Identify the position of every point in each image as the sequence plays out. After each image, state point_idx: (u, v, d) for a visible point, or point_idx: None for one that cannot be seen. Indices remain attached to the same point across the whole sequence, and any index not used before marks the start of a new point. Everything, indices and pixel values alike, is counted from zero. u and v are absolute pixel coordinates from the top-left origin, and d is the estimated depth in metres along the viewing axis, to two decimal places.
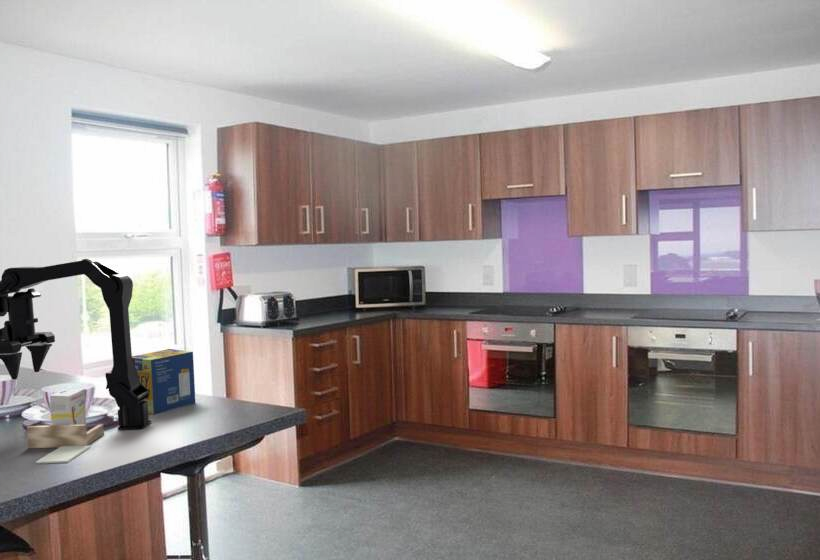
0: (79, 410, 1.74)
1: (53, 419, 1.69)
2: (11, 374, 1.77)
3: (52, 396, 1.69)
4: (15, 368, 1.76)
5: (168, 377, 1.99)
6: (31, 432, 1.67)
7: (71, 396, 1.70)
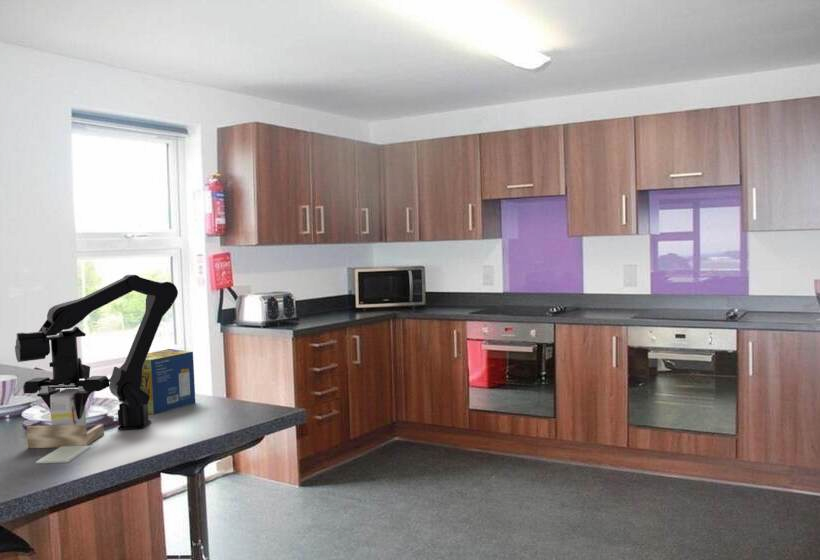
0: None
1: (53, 419, 1.69)
2: None
3: (52, 396, 1.69)
4: None
5: (168, 377, 1.99)
6: (31, 432, 1.67)
7: (71, 396, 1.70)
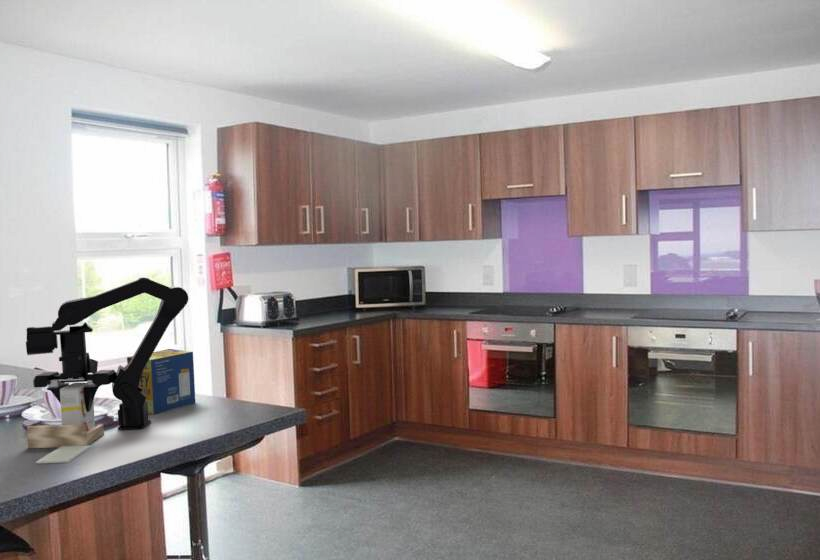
0: None
1: (63, 412, 1.73)
2: None
3: (62, 389, 1.73)
4: None
5: (168, 377, 1.99)
6: (31, 432, 1.67)
7: (80, 389, 1.75)
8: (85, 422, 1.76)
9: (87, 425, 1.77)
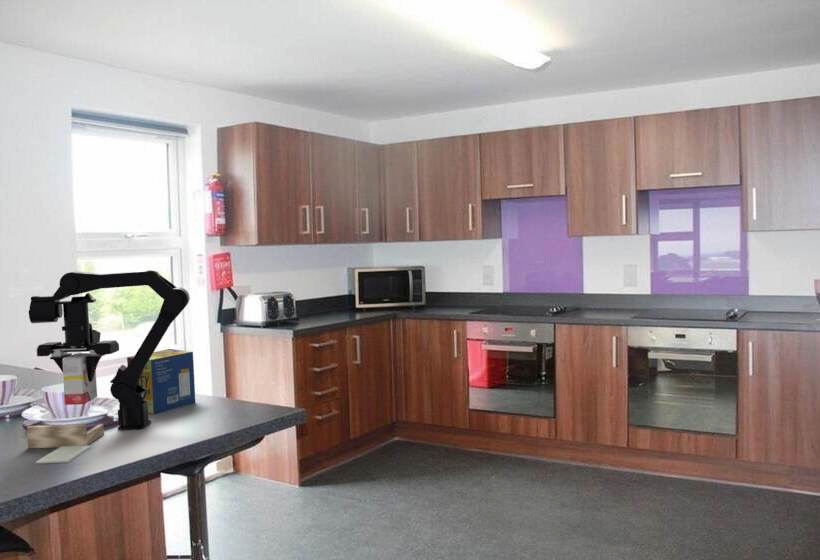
0: None
1: (65, 381, 1.75)
2: None
3: (64, 359, 1.75)
4: None
5: (168, 377, 1.99)
6: (31, 432, 1.67)
7: (83, 359, 1.76)
8: (87, 391, 1.78)
9: (89, 395, 1.79)
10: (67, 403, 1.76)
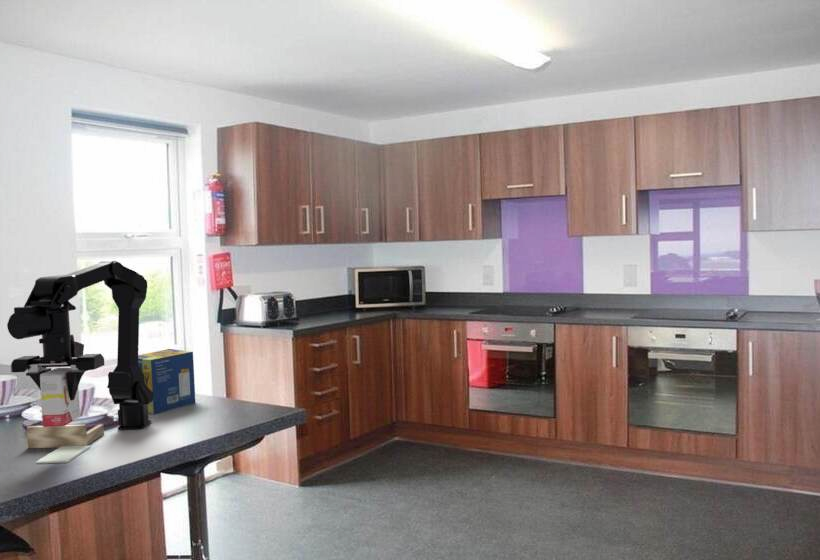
0: None
1: (43, 400, 1.55)
2: None
3: (42, 375, 1.55)
4: None
5: (168, 377, 1.99)
6: (31, 432, 1.67)
7: (63, 375, 1.57)
8: (68, 411, 1.58)
9: (71, 415, 1.59)
10: (45, 425, 1.56)
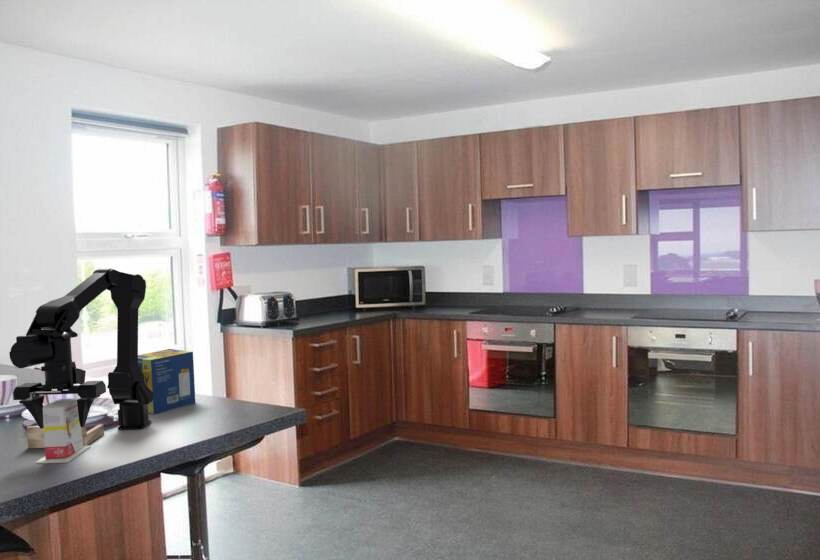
0: (75, 421, 1.61)
1: (46, 432, 1.56)
2: None
3: (45, 407, 1.56)
4: None
5: (168, 377, 1.99)
6: (31, 432, 1.67)
7: (65, 407, 1.57)
8: (71, 443, 1.59)
9: (73, 446, 1.60)
10: (48, 457, 1.56)
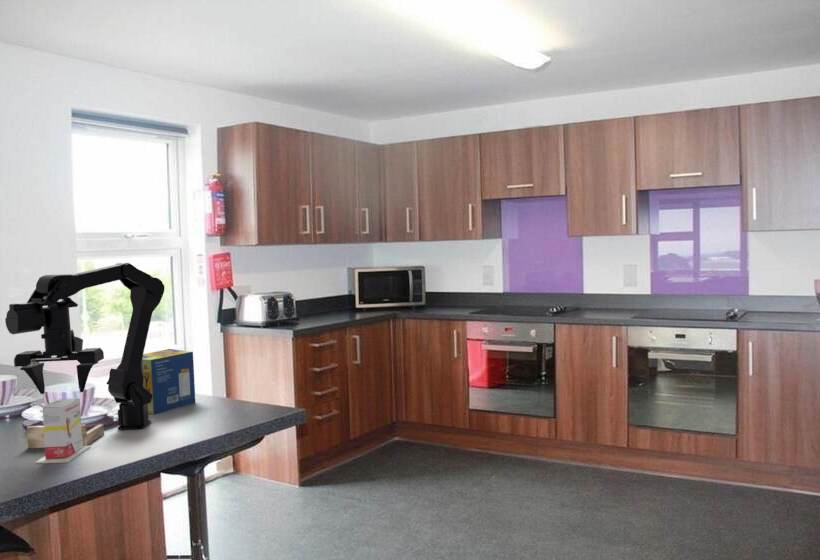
0: (75, 421, 1.61)
1: (46, 432, 1.56)
2: None
3: (45, 407, 1.56)
4: None
5: (168, 377, 1.99)
6: (31, 432, 1.67)
7: (65, 407, 1.57)
8: (71, 443, 1.59)
9: (73, 446, 1.60)
10: (48, 457, 1.56)
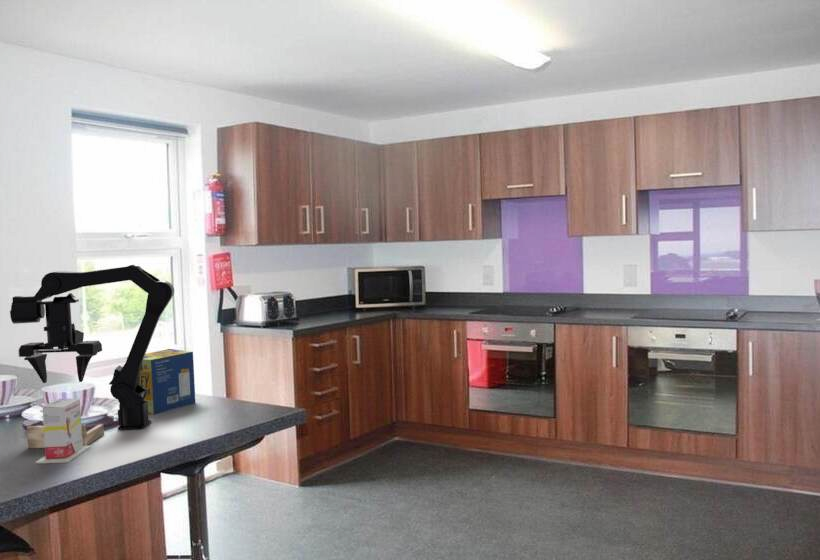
0: (75, 421, 1.61)
1: (46, 432, 1.56)
2: None
3: (45, 407, 1.56)
4: None
5: (168, 377, 1.99)
6: (31, 432, 1.67)
7: (65, 407, 1.57)
8: (71, 443, 1.59)
9: (73, 446, 1.60)
10: (48, 457, 1.56)
